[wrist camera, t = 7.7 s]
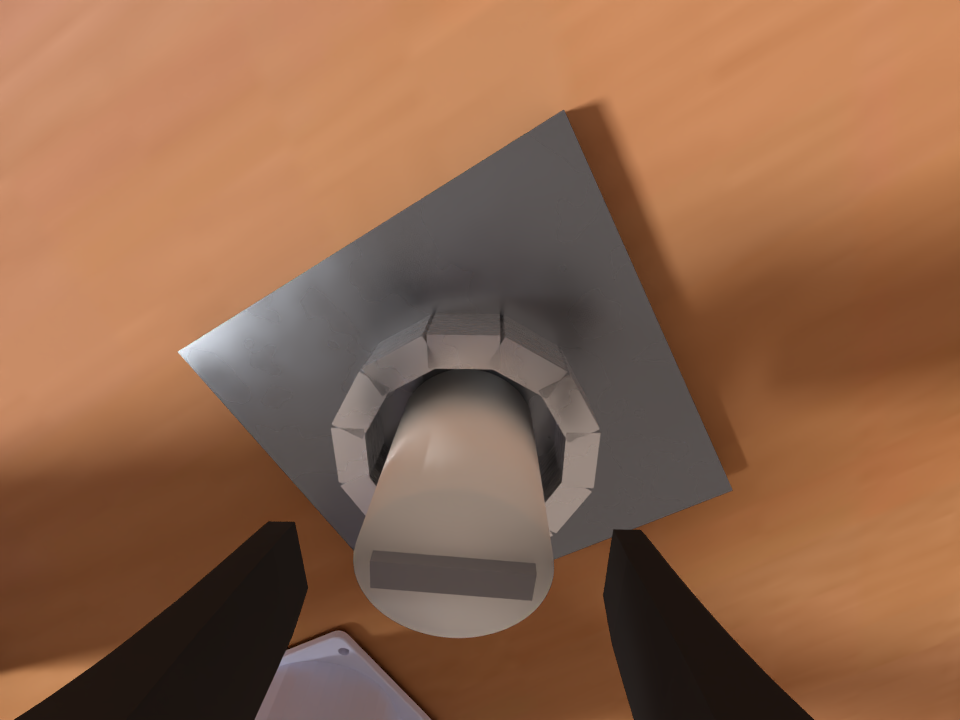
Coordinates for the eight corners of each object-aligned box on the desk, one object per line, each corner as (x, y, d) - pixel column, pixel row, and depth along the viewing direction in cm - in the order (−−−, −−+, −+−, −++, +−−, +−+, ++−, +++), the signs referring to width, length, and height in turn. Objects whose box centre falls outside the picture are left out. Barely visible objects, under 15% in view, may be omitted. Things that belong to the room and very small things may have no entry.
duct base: (719, 473, 17) (763, 531, 14) (414, 595, 20) (401, 662, 18) (558, 113, 13) (576, 98, 10) (196, 341, 16) (133, 378, 13)
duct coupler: (540, 374, 15) (571, 508, 9) (524, 485, 17) (541, 657, 11) (403, 363, 15) (345, 490, 9) (401, 475, 16) (352, 642, 11)
